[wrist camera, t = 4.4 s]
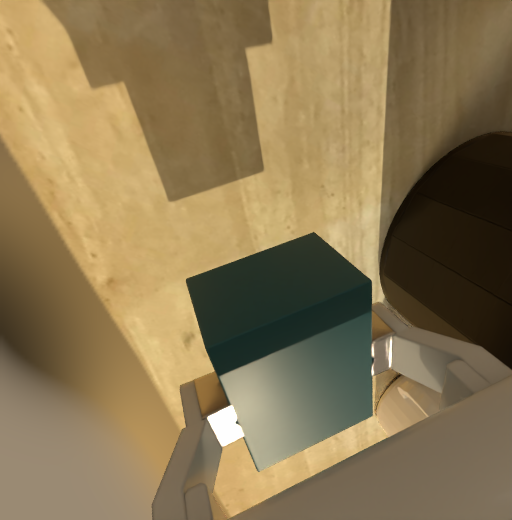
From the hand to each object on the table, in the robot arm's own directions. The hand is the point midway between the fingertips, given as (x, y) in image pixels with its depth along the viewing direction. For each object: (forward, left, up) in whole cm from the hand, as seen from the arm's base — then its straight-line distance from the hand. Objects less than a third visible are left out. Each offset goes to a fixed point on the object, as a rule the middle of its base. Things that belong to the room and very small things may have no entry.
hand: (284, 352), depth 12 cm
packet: (0, 0, -2) cm, 2 cm away
